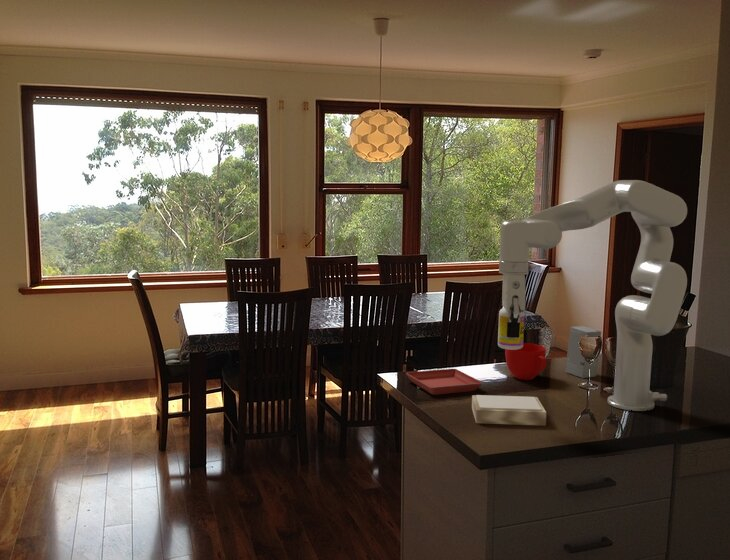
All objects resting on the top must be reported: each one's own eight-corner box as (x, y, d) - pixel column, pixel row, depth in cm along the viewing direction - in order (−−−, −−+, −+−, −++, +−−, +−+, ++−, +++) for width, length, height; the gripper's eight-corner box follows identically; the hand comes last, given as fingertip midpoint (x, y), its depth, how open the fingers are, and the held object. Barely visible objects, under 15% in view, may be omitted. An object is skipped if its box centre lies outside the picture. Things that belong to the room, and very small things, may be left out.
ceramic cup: (527, 387, 213) (529, 356, 212) (496, 373, 229) (497, 344, 227) (560, 383, 219) (562, 352, 217) (528, 370, 234) (529, 341, 233)
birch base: (536, 409, 192) (537, 395, 191) (545, 425, 179) (546, 410, 178) (471, 407, 193) (472, 393, 192) (476, 423, 180) (476, 408, 179)
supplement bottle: (523, 350, 179) (525, 302, 178) (497, 349, 181) (499, 301, 179) (522, 345, 186) (524, 298, 184) (497, 343, 187) (499, 297, 186)
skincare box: (564, 372, 231) (567, 326, 229) (580, 370, 235) (582, 325, 233) (583, 379, 224) (586, 331, 222) (599, 376, 227) (602, 329, 225)
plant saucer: (454, 377, 225) (455, 367, 225) (483, 392, 209) (484, 382, 208) (404, 382, 219) (404, 372, 218) (430, 398, 202) (430, 387, 202)
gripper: (533, 272, 172) (530, 341, 174) (522, 264, 189) (520, 328, 191) (503, 271, 172) (500, 341, 175) (495, 263, 189) (492, 327, 192)
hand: (510, 333), depth 183 cm, fingers closed on supplement bottle, 6 cm apart
